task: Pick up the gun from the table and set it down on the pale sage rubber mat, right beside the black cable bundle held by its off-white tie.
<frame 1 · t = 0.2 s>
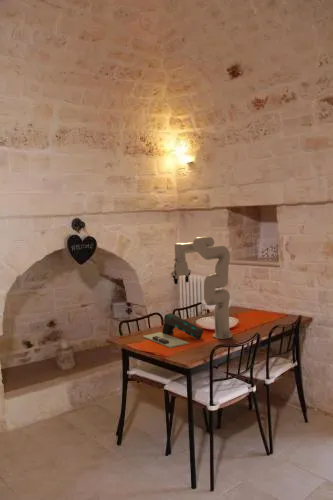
hand: (181, 283, 351), 31 cm above the table, fingers open, 9 cm apart
gun: (182, 336, 323), on the table
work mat: (164, 340, 315), on the table
bound lead: (160, 341, 311), resting on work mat
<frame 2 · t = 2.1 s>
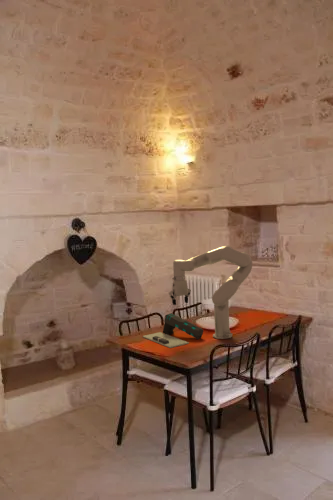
hand: (180, 303, 321), 22 cm above the table, fingers open, 9 cm apart
nothing on the table moved.
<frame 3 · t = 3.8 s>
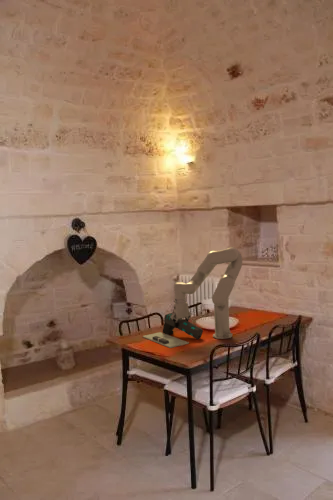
hand: (181, 326, 322), 7 cm above the table, fingers closed on gun, 7 cm apart
gun: (182, 336, 322), on the table, touching gripper
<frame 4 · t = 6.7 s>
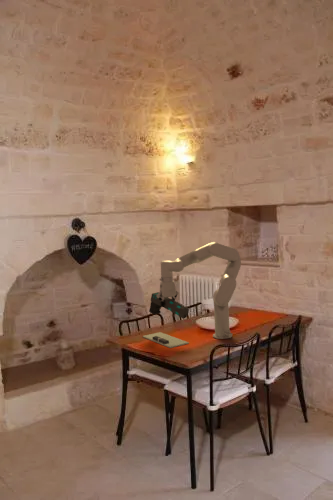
hand: (168, 305, 315), 22 cm above the table, fingers closed on gun, 7 cm apart
gun: (168, 316, 316), point 15 cm above the table, touching gripper
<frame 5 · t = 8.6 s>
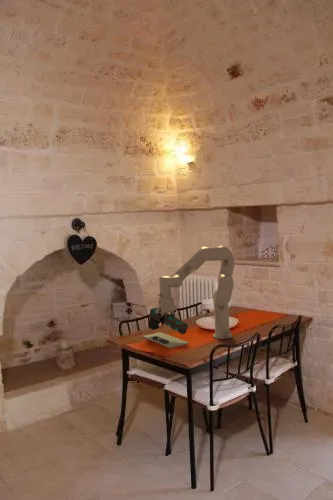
hand: (167, 321, 315), 12 cm above the table, fingers closed on gun, 7 cm apart
gun: (167, 331, 316), point 5 cm above the table, touching gripper
when the fingers open (8 cm above the table, at t = 9.9 s): gun drops 1 cm, resting on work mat.
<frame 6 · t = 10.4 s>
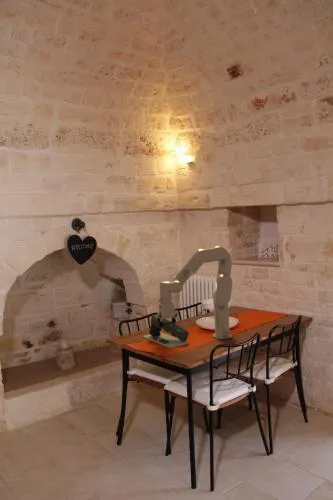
hand: (167, 325, 316), 9 cm above the table, fingers open, 9 cm apart
gun: (168, 338, 316), point 1 cm above the table, touching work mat
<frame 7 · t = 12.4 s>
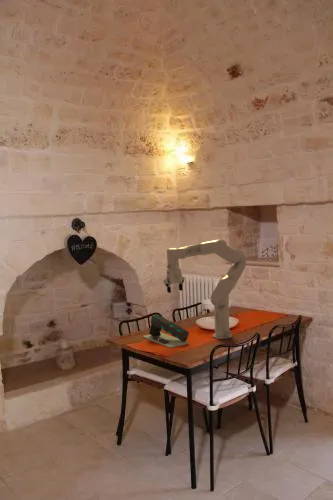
hand: (175, 291, 324), 30 cm above the table, fingers open, 9 cm apart
nothing on the table moved.
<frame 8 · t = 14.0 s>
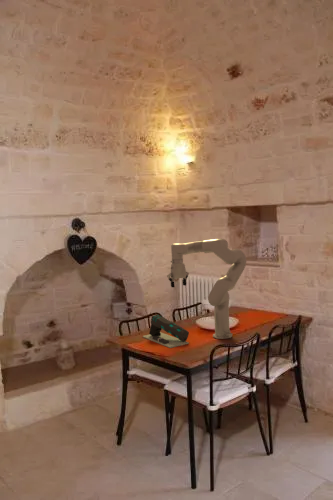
hand: (178, 286, 330), 32 cm above the table, fingers open, 9 cm apart
nothing on the table moved.
at the end: gun inside the target area on the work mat (0.8 cm from its centre), point 0.6 cm above the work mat's base; gun touching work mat; the gripper is holding nothing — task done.
